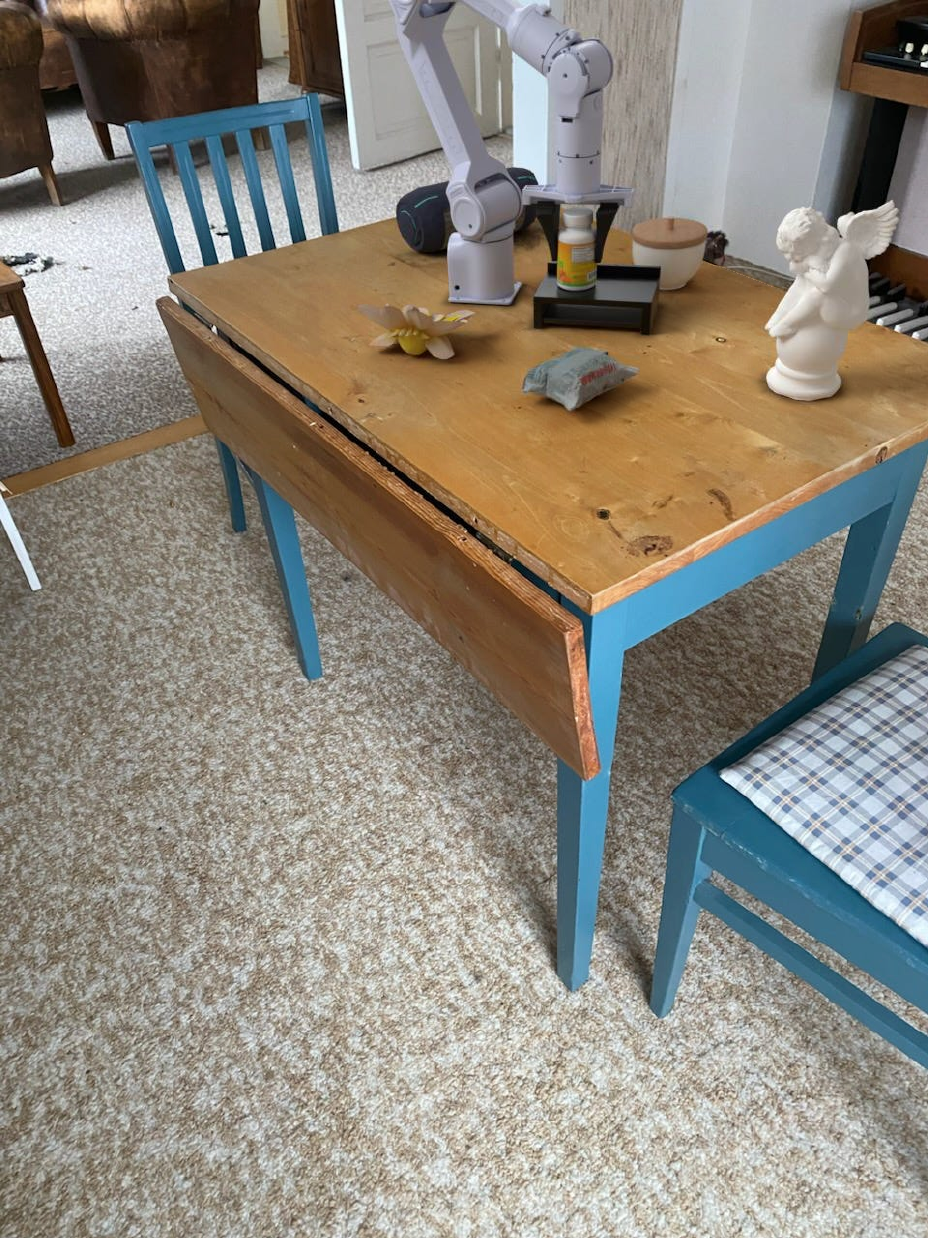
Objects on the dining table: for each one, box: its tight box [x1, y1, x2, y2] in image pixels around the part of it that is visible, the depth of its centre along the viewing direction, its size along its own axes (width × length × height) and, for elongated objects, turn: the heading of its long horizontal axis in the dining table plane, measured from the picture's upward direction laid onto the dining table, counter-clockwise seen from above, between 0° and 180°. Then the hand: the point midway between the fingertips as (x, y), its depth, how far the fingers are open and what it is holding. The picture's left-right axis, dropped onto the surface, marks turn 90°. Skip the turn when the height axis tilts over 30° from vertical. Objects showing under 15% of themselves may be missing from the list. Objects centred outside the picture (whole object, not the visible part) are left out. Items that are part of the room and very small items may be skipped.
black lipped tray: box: [532, 261, 661, 336], centre depth 132 cm, size 16×10×6 cm, turn 74°
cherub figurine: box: [764, 199, 900, 402], centre depth 109 cm, size 12×12×22 cm
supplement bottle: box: [557, 206, 598, 291], centre depth 129 cm, size 5×5×10 cm
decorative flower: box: [355, 303, 475, 360], centre depth 126 cm, size 15×11×10 cm
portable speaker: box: [395, 166, 540, 253], centre depth 158 cm, size 25×10×10 cm, turn 119°
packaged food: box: [521, 346, 639, 412], centre depth 115 cm, size 9×12×5 cm
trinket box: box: [631, 216, 709, 291], centre depth 139 cm, size 11×11×9 cm
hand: (576, 259), depth 130 cm, fingers closed on supplement bottle, 5 cm apart
